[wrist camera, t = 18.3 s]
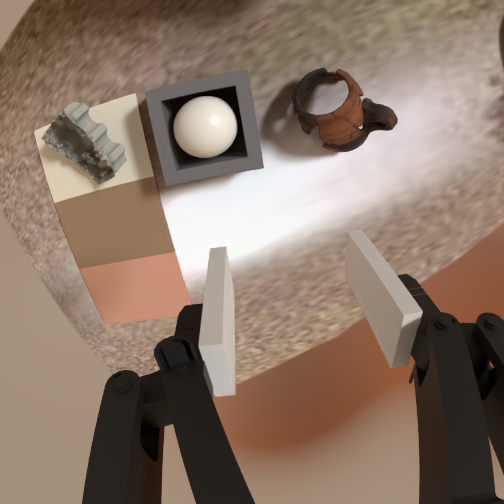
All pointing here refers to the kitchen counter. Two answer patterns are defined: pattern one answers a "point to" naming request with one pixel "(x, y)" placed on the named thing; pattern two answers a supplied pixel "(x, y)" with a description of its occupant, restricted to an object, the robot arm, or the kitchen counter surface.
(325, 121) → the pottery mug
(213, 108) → the cream ball
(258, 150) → the housing
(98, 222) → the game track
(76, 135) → the egg carton
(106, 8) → the kitchen counter surface
